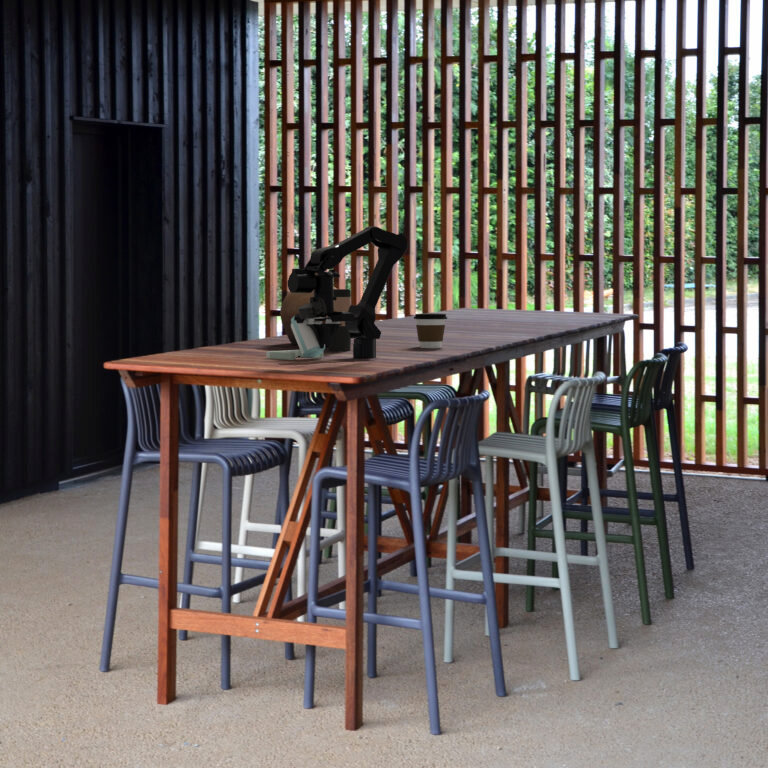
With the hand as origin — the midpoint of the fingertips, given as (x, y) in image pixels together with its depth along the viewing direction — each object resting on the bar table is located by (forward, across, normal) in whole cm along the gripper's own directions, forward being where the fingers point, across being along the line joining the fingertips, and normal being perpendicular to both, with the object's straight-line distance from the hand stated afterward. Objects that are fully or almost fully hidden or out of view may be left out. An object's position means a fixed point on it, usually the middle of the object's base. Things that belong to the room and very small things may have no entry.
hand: (324, 348), depth 359 cm
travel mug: (+2, -21, +29) cm, 36 cm away
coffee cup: (+1, -8, +58) cm, 58 cm away
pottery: (0, -38, +37) cm, 53 cm away
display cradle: (+3, -12, +1) cm, 12 cm away
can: (+2, -4, +1) cm, 4 cm away
